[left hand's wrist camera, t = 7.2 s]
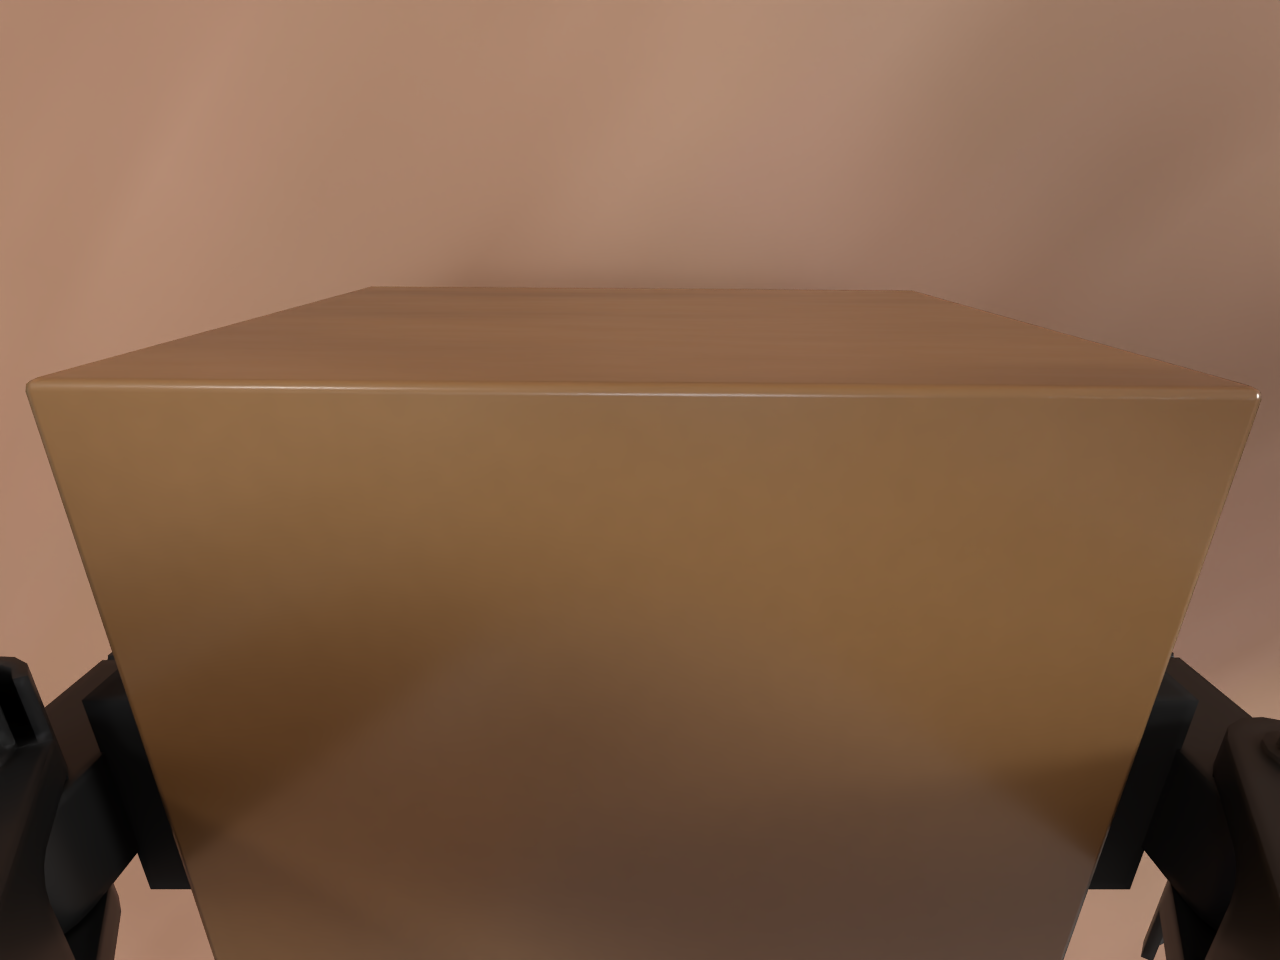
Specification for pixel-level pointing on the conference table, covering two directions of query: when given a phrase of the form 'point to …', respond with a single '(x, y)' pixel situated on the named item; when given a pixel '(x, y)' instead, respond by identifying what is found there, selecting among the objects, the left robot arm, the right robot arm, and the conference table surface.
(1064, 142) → the conference table surface
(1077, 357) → the long wooden beam
